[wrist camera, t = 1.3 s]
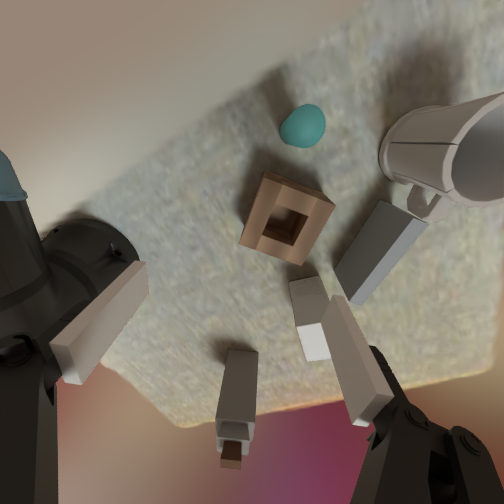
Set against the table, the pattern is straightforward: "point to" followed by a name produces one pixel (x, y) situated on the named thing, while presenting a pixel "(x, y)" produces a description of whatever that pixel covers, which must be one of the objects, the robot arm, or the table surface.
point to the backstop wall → (376, 250)
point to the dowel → (303, 126)
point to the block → (285, 218)
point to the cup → (448, 156)
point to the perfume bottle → (237, 407)
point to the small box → (310, 316)
